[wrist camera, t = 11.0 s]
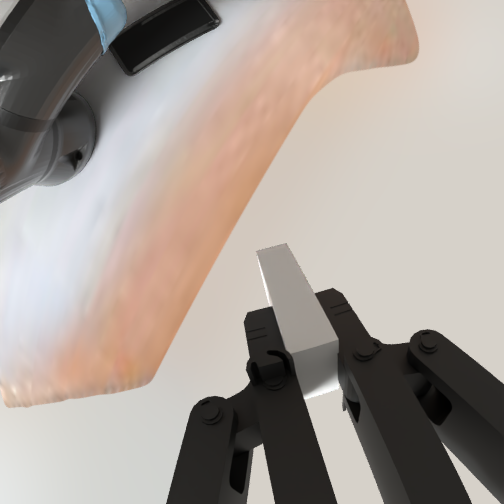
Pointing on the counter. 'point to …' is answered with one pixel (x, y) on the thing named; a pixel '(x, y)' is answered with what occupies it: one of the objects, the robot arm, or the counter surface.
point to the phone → (161, 33)
